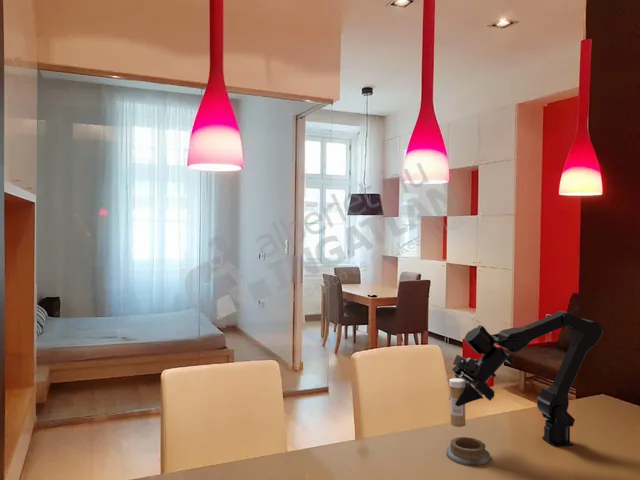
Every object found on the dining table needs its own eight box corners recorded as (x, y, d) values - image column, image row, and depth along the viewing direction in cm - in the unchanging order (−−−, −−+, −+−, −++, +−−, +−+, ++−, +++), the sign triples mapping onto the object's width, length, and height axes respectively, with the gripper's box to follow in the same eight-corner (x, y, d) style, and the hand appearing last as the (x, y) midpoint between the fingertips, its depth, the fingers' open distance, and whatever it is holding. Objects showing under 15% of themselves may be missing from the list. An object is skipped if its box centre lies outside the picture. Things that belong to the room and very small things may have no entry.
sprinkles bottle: (468, 424, 152) (467, 379, 152) (461, 428, 149) (460, 382, 149) (454, 421, 155) (453, 376, 155) (447, 425, 152) (446, 379, 152)
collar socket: (477, 445, 153) (477, 434, 153) (498, 463, 141) (498, 450, 141) (439, 448, 151) (439, 437, 151) (457, 467, 139) (457, 454, 139)
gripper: (457, 339, 162) (424, 375, 160) (483, 353, 143) (446, 394, 142) (481, 363, 163) (448, 399, 161) (510, 380, 144) (473, 421, 143)
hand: (453, 402), depth 152 cm, fingers closed on sprinkles bottle, 4 cm apart
